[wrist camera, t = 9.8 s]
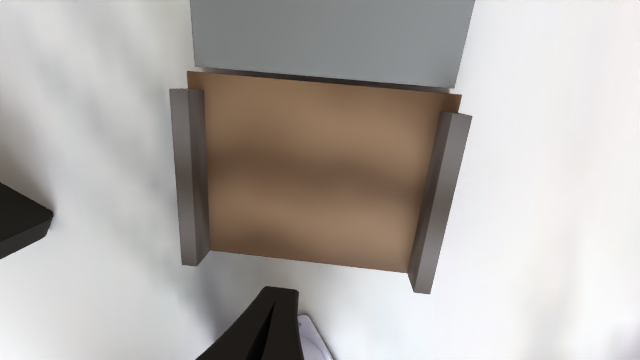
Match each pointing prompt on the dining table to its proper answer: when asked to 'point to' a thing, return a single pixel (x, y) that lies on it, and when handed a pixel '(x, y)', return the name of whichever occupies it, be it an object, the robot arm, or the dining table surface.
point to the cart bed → (316, 171)
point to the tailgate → (335, 38)
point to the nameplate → (20, 221)
